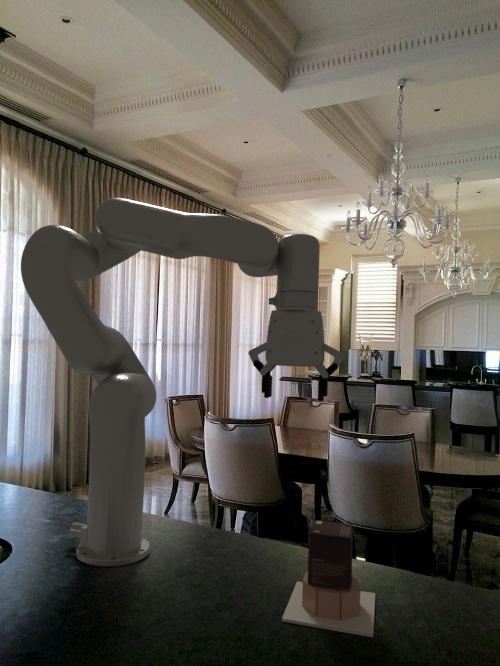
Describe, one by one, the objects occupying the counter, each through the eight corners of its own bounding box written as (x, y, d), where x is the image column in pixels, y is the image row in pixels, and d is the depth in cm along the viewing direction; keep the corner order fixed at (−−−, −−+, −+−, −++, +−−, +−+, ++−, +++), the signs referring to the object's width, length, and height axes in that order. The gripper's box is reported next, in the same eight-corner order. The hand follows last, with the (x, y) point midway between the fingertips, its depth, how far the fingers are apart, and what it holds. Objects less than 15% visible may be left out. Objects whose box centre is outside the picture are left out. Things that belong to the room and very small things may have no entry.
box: (350, 592, 69) (352, 537, 69) (306, 586, 70) (308, 532, 71) (352, 574, 75) (353, 523, 75) (311, 568, 76) (313, 519, 77)
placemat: (281, 621, 68) (281, 618, 68) (297, 583, 80) (297, 581, 80) (373, 637, 65) (373, 634, 65) (375, 595, 77) (375, 593, 77)
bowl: (299, 613, 70) (299, 587, 70) (307, 588, 77) (308, 565, 78) (358, 623, 68) (358, 597, 68) (361, 597, 75) (361, 573, 75)
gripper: (245, 301, 90) (241, 397, 89) (343, 301, 86) (341, 403, 85) (255, 305, 97) (252, 395, 97) (347, 306, 93) (344, 400, 92)
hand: (294, 398), depth 91 cm, fingers open, 9 cm apart
